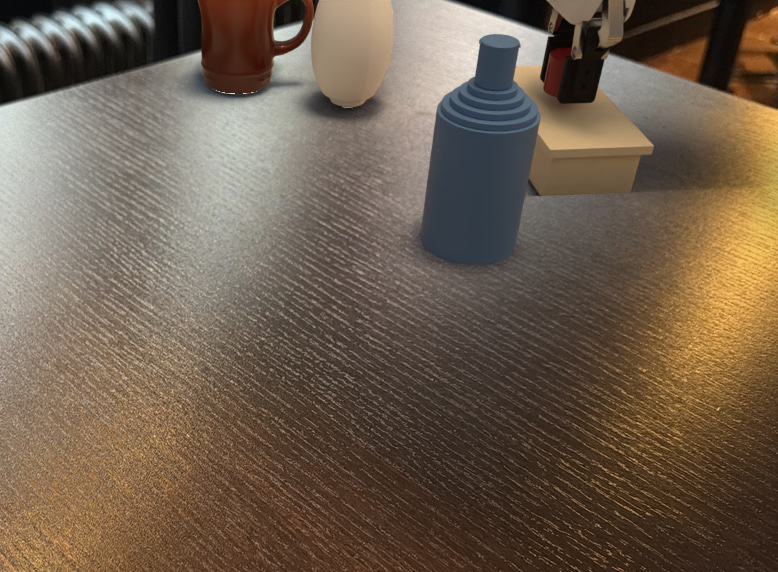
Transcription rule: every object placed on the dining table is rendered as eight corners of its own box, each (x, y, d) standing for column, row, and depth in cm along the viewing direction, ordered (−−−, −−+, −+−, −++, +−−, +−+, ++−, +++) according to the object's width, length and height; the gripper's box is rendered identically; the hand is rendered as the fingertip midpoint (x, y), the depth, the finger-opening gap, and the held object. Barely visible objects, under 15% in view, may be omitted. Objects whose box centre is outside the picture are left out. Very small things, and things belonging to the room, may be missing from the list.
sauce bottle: (371, 126, 97) (388, -73, 85) (296, 112, 99) (304, -83, 88) (396, 97, 102) (416, -94, 91) (325, 84, 105) (336, -103, 93)
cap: (550, 100, 86) (558, 64, 84) (536, 83, 89) (543, 47, 87) (595, 99, 87) (604, 63, 85) (579, 81, 90) (587, 46, 88)
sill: (567, 114, 99) (577, 64, 96) (639, 200, 85) (654, 145, 82) (480, 117, 99) (488, 67, 95) (538, 204, 85) (550, 149, 82)
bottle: (496, 233, 81) (535, 20, 70) (523, 281, 75) (570, 58, 65) (408, 237, 80) (435, 23, 70) (429, 285, 75) (461, 61, 64)
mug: (195, 102, 101) (192, -3, 95) (195, 69, 108) (193, -30, 101) (313, 101, 101) (318, -3, 95) (306, 68, 108) (311, -31, 102)
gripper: (535, -162, 83) (497, 57, 94) (610, -114, 70) (556, 133, 81) (622, -162, 83) (574, 55, 95) (713, -115, 70) (645, 130, 82)
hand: (566, 89), depth 88 cm, fingers closed on cap, 3 cm apart
